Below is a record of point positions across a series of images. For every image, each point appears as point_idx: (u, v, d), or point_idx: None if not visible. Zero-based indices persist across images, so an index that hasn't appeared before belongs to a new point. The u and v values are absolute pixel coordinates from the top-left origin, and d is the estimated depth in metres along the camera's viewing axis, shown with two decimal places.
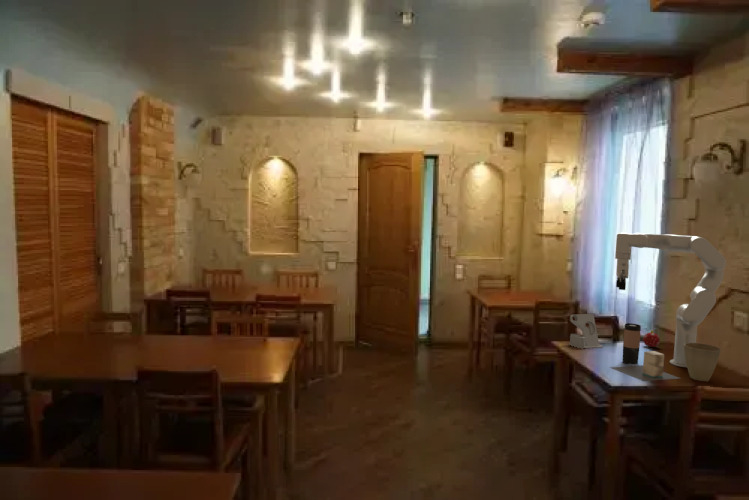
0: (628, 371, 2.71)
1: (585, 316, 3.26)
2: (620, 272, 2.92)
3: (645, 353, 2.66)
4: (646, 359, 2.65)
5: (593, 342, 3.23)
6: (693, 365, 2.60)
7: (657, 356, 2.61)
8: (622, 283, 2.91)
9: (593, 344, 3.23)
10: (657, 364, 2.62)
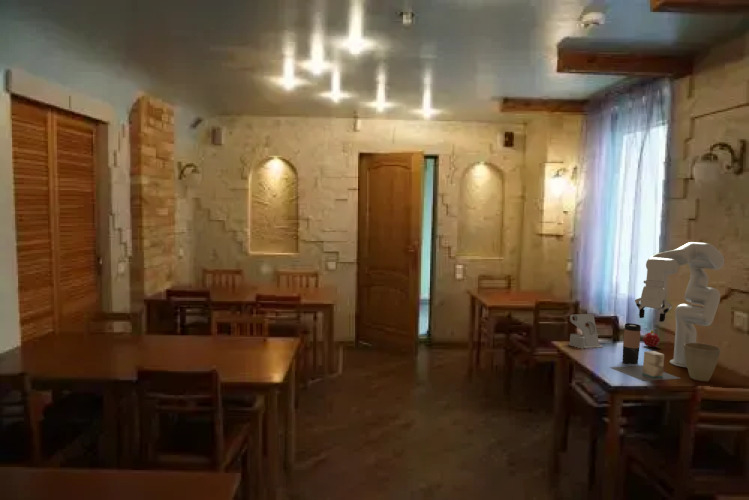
0: (628, 371, 2.71)
1: (585, 316, 3.26)
2: None
3: (645, 353, 2.66)
4: (646, 359, 2.65)
5: (593, 342, 3.23)
6: (693, 365, 2.60)
7: (657, 356, 2.61)
8: None
9: (593, 344, 3.23)
10: (657, 364, 2.62)
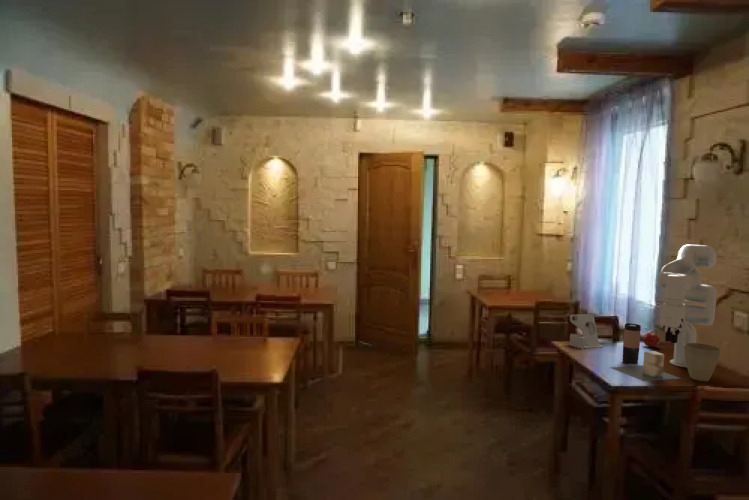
0: (628, 371, 2.71)
1: (585, 316, 3.26)
2: None
3: (645, 353, 2.66)
4: (646, 359, 2.65)
5: (593, 342, 3.23)
6: (693, 365, 2.60)
7: (657, 356, 2.61)
8: None
9: (593, 344, 3.23)
10: (657, 364, 2.62)
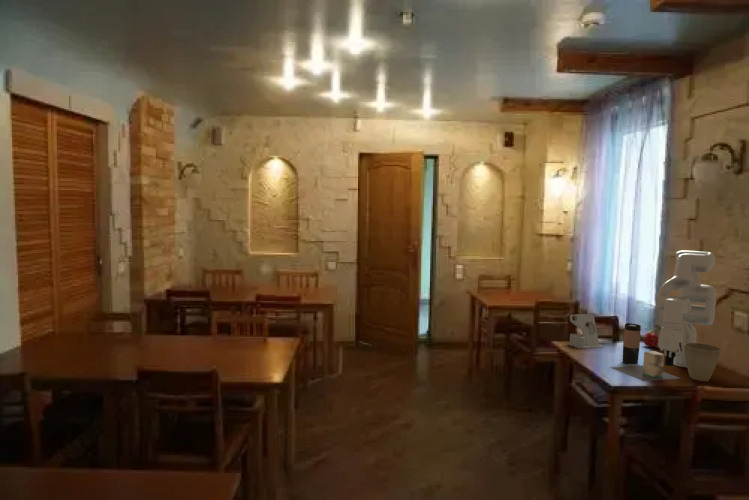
0: (628, 371, 2.71)
1: (585, 316, 3.26)
2: None
3: (645, 353, 2.66)
4: (646, 359, 2.65)
5: (593, 342, 3.23)
6: (693, 365, 2.60)
7: (657, 356, 2.61)
8: None
9: (593, 344, 3.23)
10: (657, 364, 2.62)
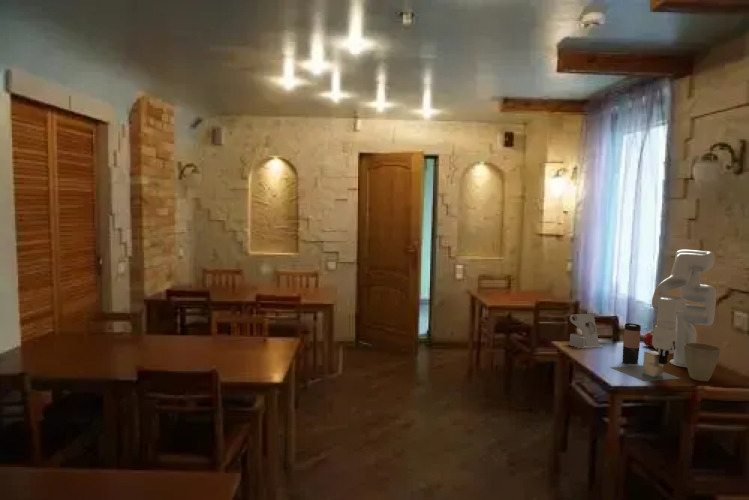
0: (628, 371, 2.71)
1: (585, 316, 3.26)
2: None
3: (645, 353, 2.66)
4: (646, 359, 2.65)
5: (593, 342, 3.23)
6: (693, 365, 2.60)
7: (657, 356, 2.61)
8: None
9: (593, 344, 3.23)
10: (657, 364, 2.62)
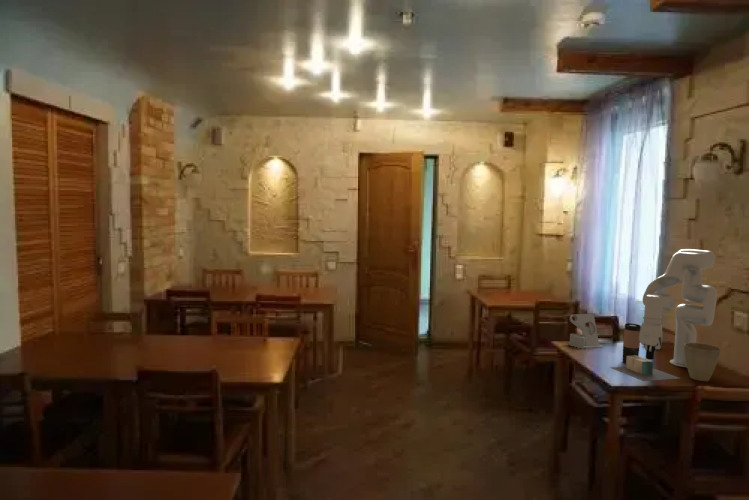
0: (628, 371, 2.71)
1: (585, 316, 3.26)
2: None
3: (626, 366, 2.77)
4: (630, 366, 2.74)
5: (593, 342, 3.23)
6: (693, 365, 2.60)
7: (631, 356, 2.77)
8: None
9: (593, 344, 3.23)
10: (637, 358, 2.73)
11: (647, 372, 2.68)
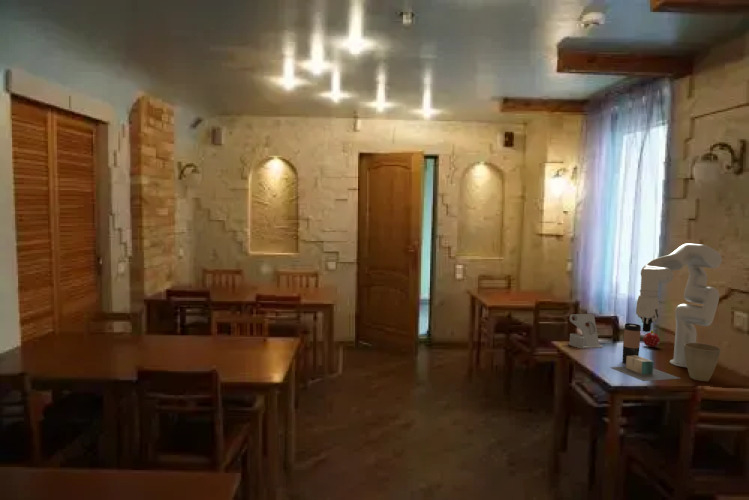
0: (628, 371, 2.71)
1: (585, 316, 3.26)
2: None
3: (626, 366, 2.77)
4: (630, 366, 2.74)
5: (593, 342, 3.23)
6: (693, 365, 2.60)
7: (631, 356, 2.77)
8: None
9: (593, 344, 3.23)
10: (637, 358, 2.73)
11: (647, 372, 2.68)
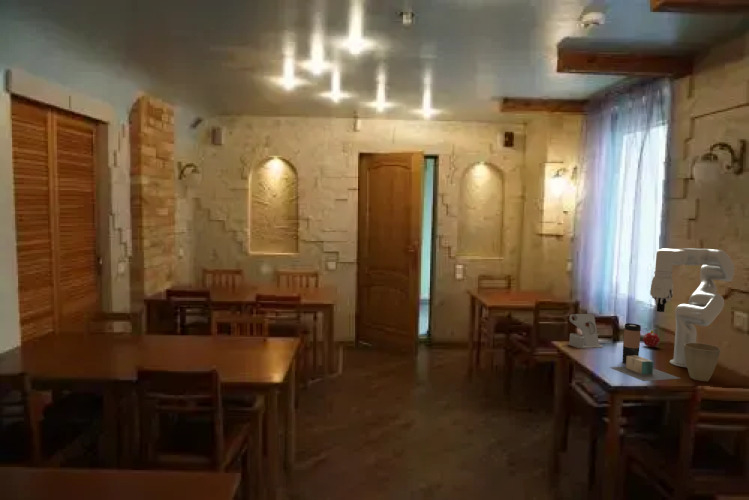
0: (628, 371, 2.71)
1: (585, 316, 3.27)
2: None
3: (626, 366, 2.77)
4: (630, 366, 2.74)
5: (593, 342, 3.23)
6: (693, 365, 2.60)
7: (631, 356, 2.77)
8: None
9: (593, 344, 3.23)
10: (637, 358, 2.73)
11: (647, 372, 2.68)
